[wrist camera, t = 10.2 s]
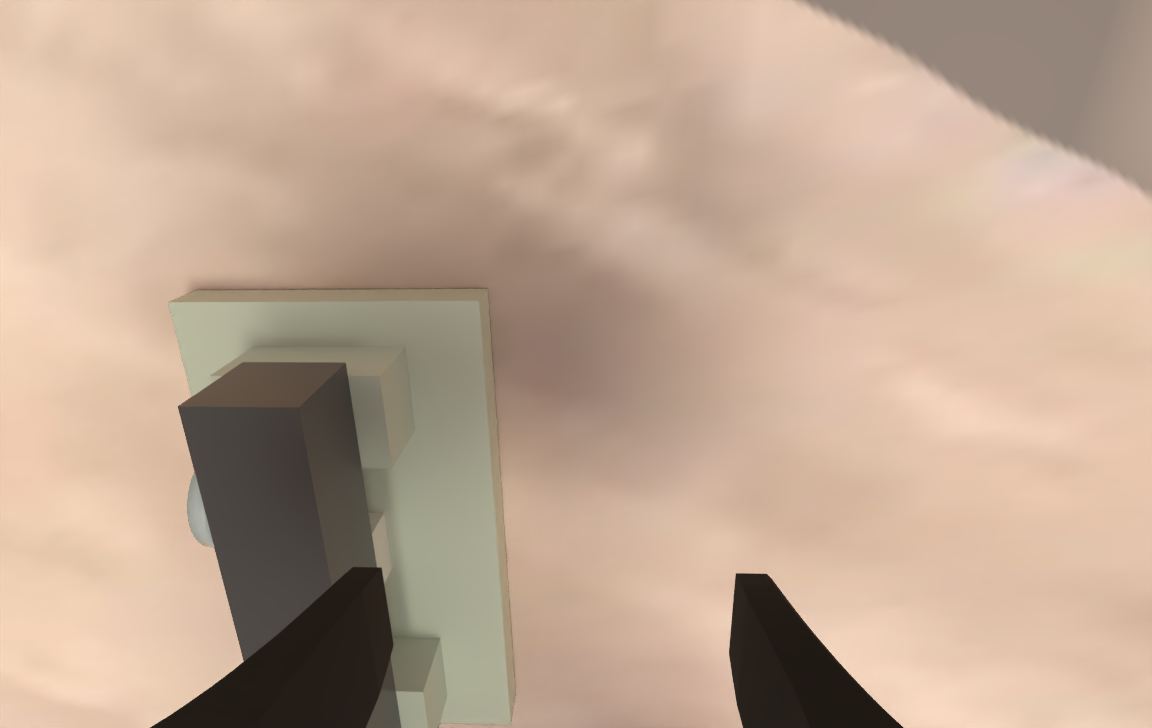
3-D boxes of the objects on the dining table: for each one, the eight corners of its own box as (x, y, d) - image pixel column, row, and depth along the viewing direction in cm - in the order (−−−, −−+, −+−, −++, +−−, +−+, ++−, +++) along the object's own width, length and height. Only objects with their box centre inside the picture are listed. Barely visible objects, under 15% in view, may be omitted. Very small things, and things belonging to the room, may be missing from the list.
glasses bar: (407, 763, 24) (380, 848, 21) (312, 760, 24) (274, 843, 22) (345, 362, 18) (298, 407, 16) (222, 361, 19) (154, 405, 16)
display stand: (515, 694, 28) (501, 783, 24) (289, 688, 29) (241, 775, 25) (487, 288, 22) (462, 325, 18) (195, 290, 22) (112, 326, 18)
